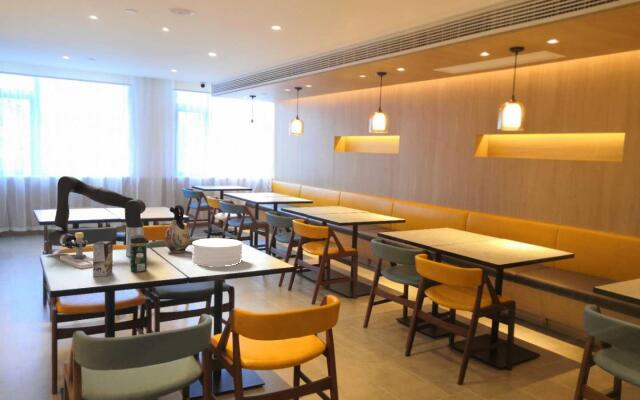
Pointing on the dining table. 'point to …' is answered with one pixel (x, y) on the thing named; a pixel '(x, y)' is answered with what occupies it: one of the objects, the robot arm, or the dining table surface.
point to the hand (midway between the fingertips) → (81, 245)
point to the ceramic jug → (177, 232)
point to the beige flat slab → (78, 261)
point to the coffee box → (102, 258)
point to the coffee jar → (138, 253)
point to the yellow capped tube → (79, 240)
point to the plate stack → (216, 252)
